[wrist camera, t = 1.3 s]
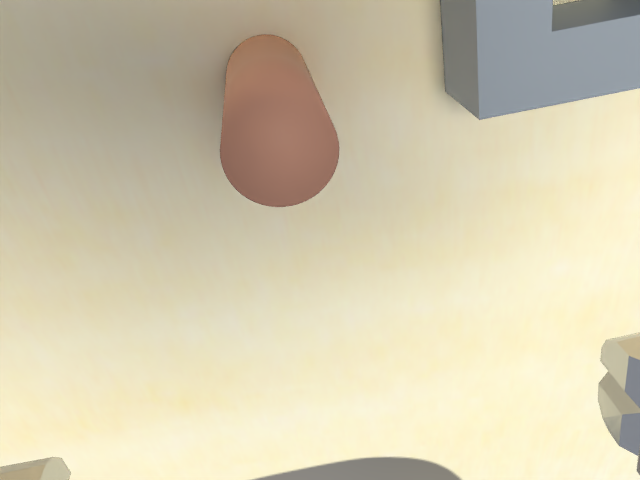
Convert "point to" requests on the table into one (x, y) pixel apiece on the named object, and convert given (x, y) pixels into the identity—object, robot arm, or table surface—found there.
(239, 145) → the long pin
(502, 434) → the table surface
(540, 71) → the bore block
